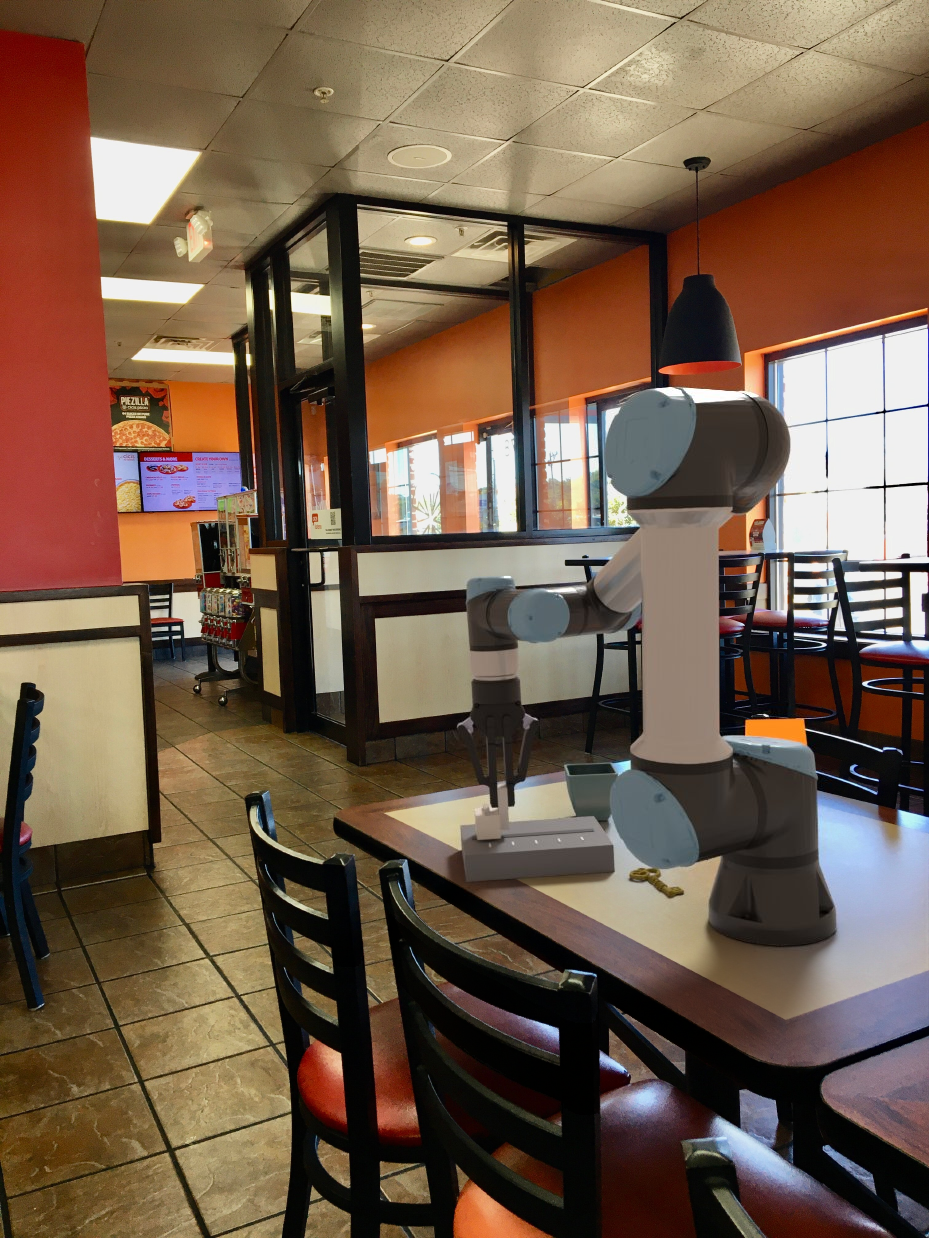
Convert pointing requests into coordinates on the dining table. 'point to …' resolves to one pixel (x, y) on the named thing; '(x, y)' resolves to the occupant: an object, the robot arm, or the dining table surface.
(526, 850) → the dimmer console
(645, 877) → the key
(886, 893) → the dining table surface
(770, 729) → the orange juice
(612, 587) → the robot arm
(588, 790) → the flower pot
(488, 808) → the slider cap
